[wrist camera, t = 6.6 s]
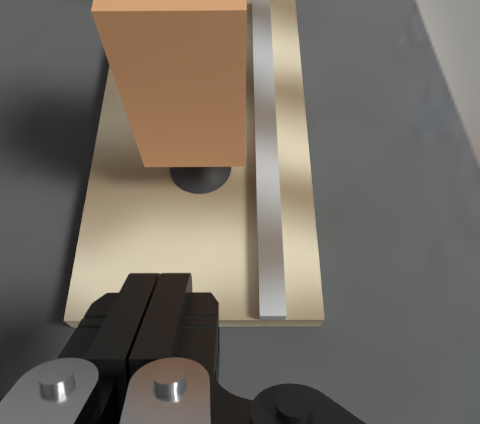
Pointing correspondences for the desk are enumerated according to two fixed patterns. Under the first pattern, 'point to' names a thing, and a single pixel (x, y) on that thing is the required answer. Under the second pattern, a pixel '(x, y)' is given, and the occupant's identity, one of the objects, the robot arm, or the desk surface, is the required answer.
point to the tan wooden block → (180, 77)
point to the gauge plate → (213, 201)
